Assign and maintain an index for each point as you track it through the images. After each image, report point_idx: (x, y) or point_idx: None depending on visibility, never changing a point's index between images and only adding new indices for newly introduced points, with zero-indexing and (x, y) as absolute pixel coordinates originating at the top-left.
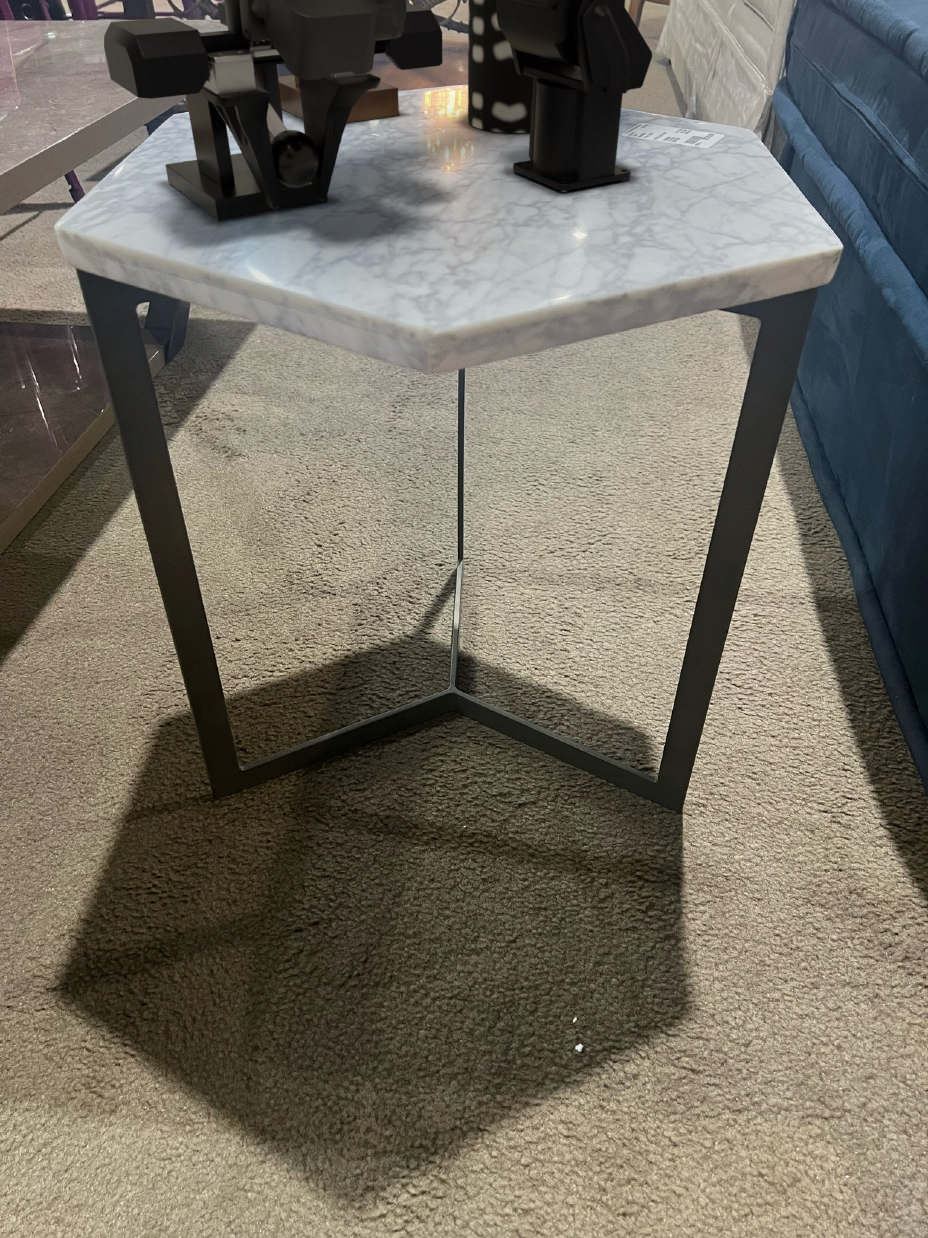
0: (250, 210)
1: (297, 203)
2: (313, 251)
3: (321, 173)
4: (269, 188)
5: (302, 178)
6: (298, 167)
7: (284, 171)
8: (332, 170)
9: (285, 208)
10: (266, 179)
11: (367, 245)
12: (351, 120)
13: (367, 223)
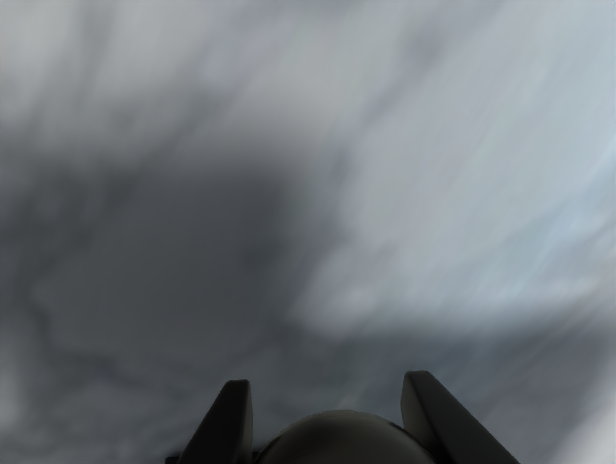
0: None
1: (254, 458)
2: (386, 134)
3: (237, 452)
4: (467, 415)
5: (352, 418)
6: (384, 457)
7: (430, 460)
8: (183, 458)
9: None
10: (494, 444)
11: (183, 90)
12: None
13: (111, 286)
